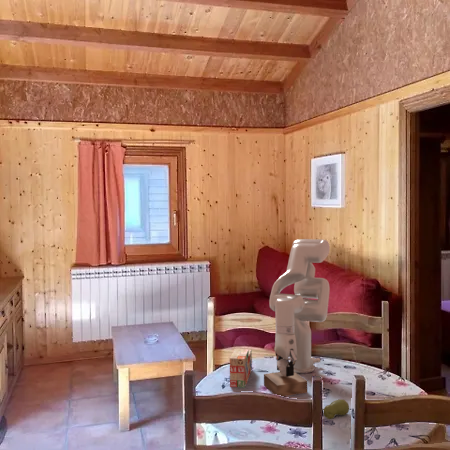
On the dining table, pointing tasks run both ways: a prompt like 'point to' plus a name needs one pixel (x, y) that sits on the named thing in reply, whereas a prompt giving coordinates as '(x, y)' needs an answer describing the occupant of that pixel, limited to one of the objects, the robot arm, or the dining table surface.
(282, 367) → the frog figurine
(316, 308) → the robot arm
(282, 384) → the walnut block
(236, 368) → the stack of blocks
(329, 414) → the pear
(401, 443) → the dining table surface
